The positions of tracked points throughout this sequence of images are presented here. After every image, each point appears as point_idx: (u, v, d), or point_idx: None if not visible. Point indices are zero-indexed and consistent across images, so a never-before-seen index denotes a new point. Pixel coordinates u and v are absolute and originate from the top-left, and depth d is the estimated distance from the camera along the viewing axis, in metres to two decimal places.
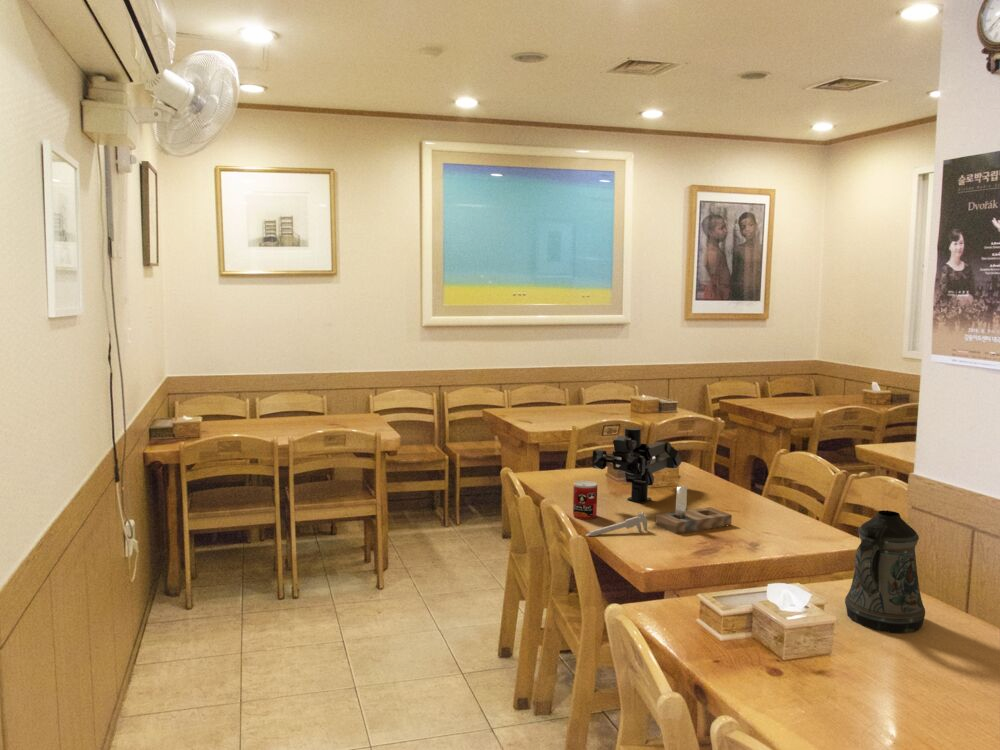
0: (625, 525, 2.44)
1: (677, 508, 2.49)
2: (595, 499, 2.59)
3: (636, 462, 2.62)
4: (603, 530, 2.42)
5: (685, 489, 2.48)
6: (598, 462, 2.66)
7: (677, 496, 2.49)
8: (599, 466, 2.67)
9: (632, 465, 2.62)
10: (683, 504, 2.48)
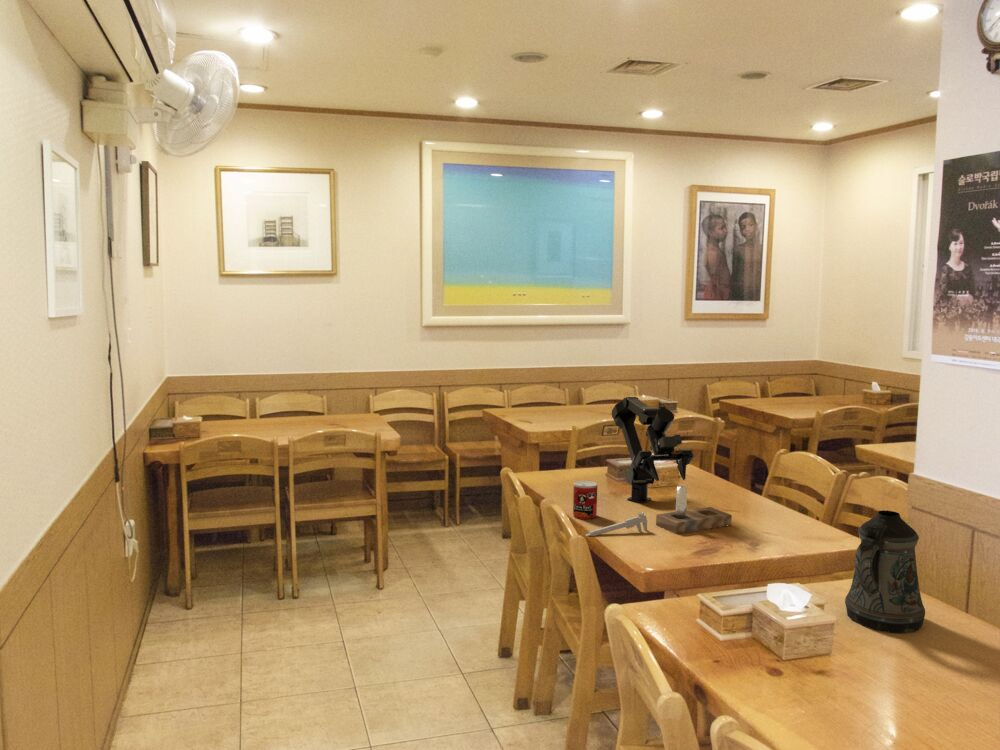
0: (625, 525, 2.44)
1: (677, 508, 2.49)
2: (595, 499, 2.59)
3: (688, 460, 2.62)
4: (603, 530, 2.42)
5: (685, 489, 2.48)
6: None
7: (677, 496, 2.49)
8: None
9: None
10: (683, 504, 2.48)
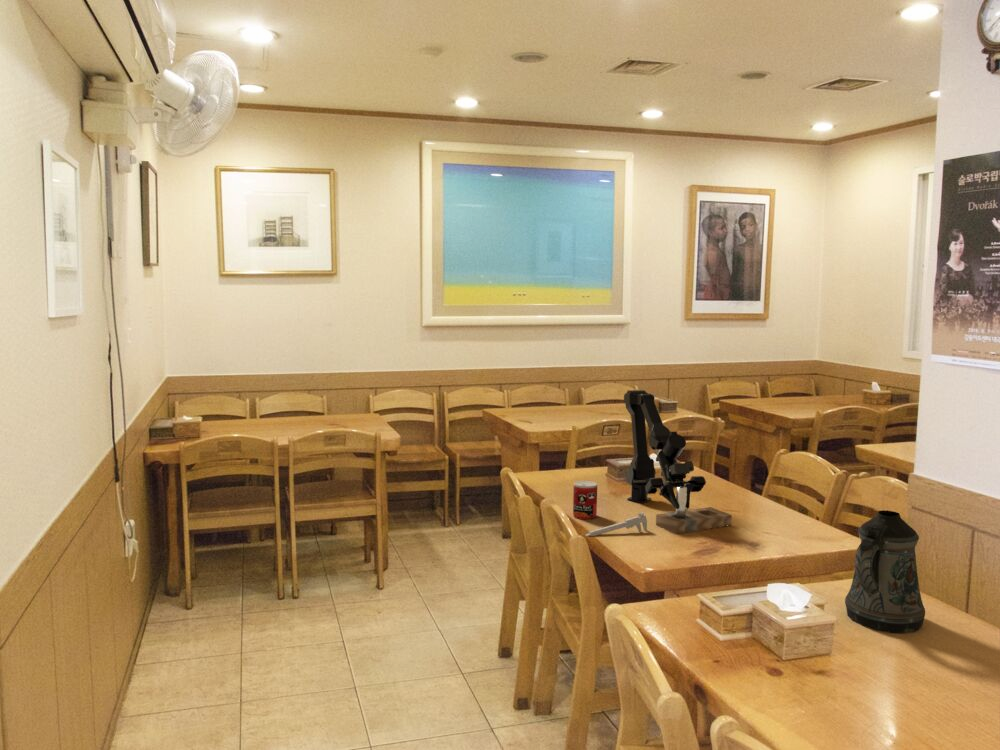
0: (625, 525, 2.44)
1: None
2: (595, 499, 2.59)
3: (692, 487, 2.53)
4: (603, 530, 2.42)
5: (685, 489, 2.48)
6: None
7: (677, 496, 2.49)
8: None
9: None
10: (683, 504, 2.48)
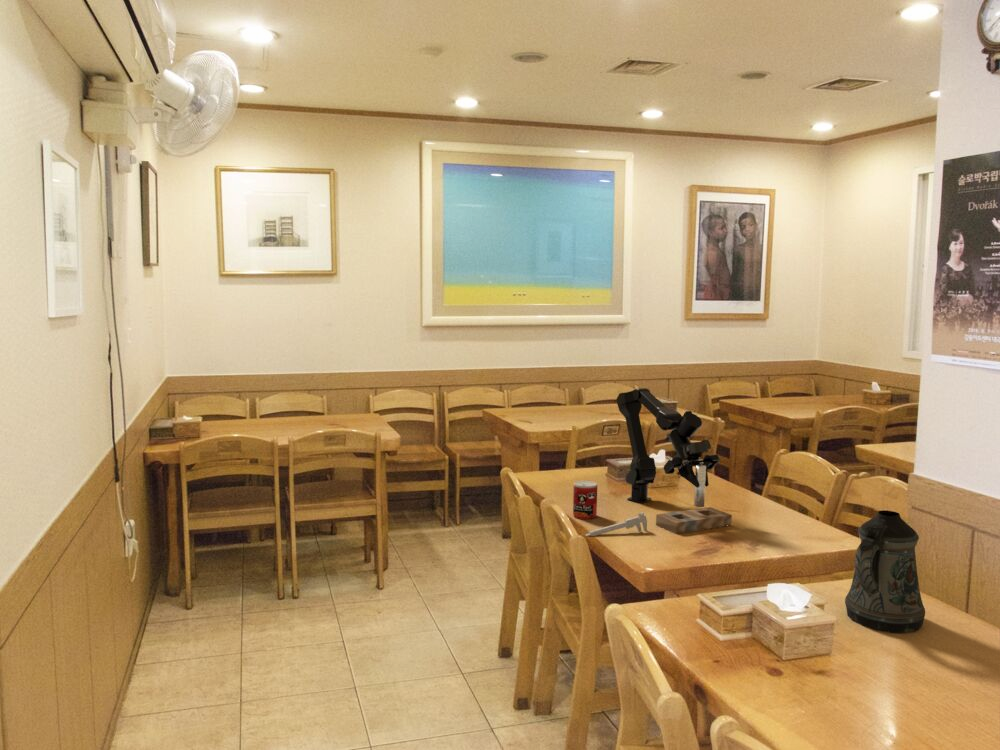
0: (625, 525, 2.44)
1: None
2: (595, 499, 2.59)
3: (708, 465, 2.56)
4: (603, 530, 2.42)
5: (705, 467, 2.50)
6: None
7: (698, 475, 2.51)
8: None
9: None
10: (703, 482, 2.51)
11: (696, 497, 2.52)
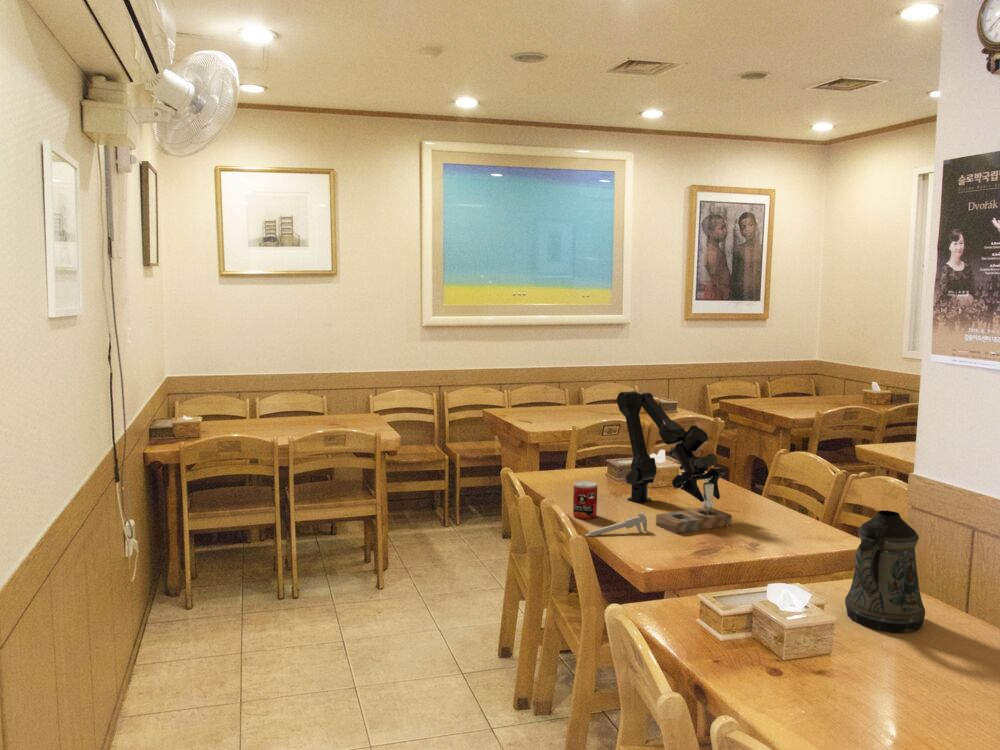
0: (625, 525, 2.44)
1: (705, 505, 2.54)
2: (595, 499, 2.59)
3: (717, 478, 2.59)
4: (603, 530, 2.42)
5: (713, 486, 2.53)
6: None
7: (706, 493, 2.53)
8: None
9: None
10: (711, 500, 2.53)
11: None
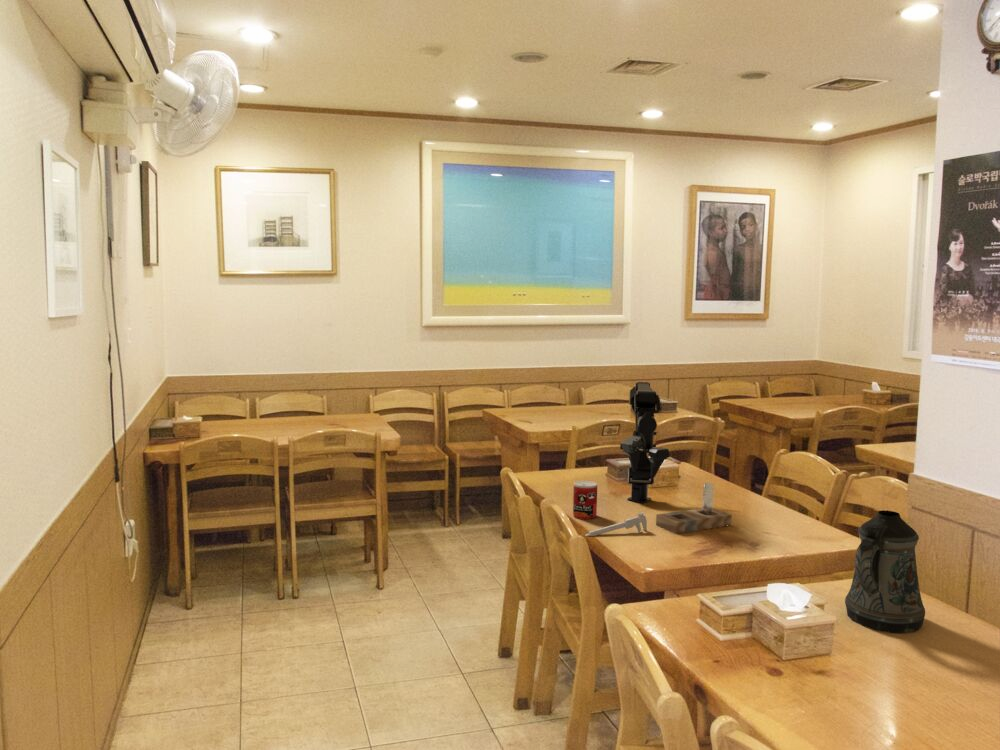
0: (624, 525, 2.44)
1: (705, 505, 2.54)
2: (595, 499, 2.59)
3: None
4: (602, 530, 2.42)
5: (713, 485, 2.53)
6: (634, 463, 2.69)
7: (706, 493, 2.53)
8: (637, 459, 2.70)
9: None
10: (711, 500, 2.53)
11: None
